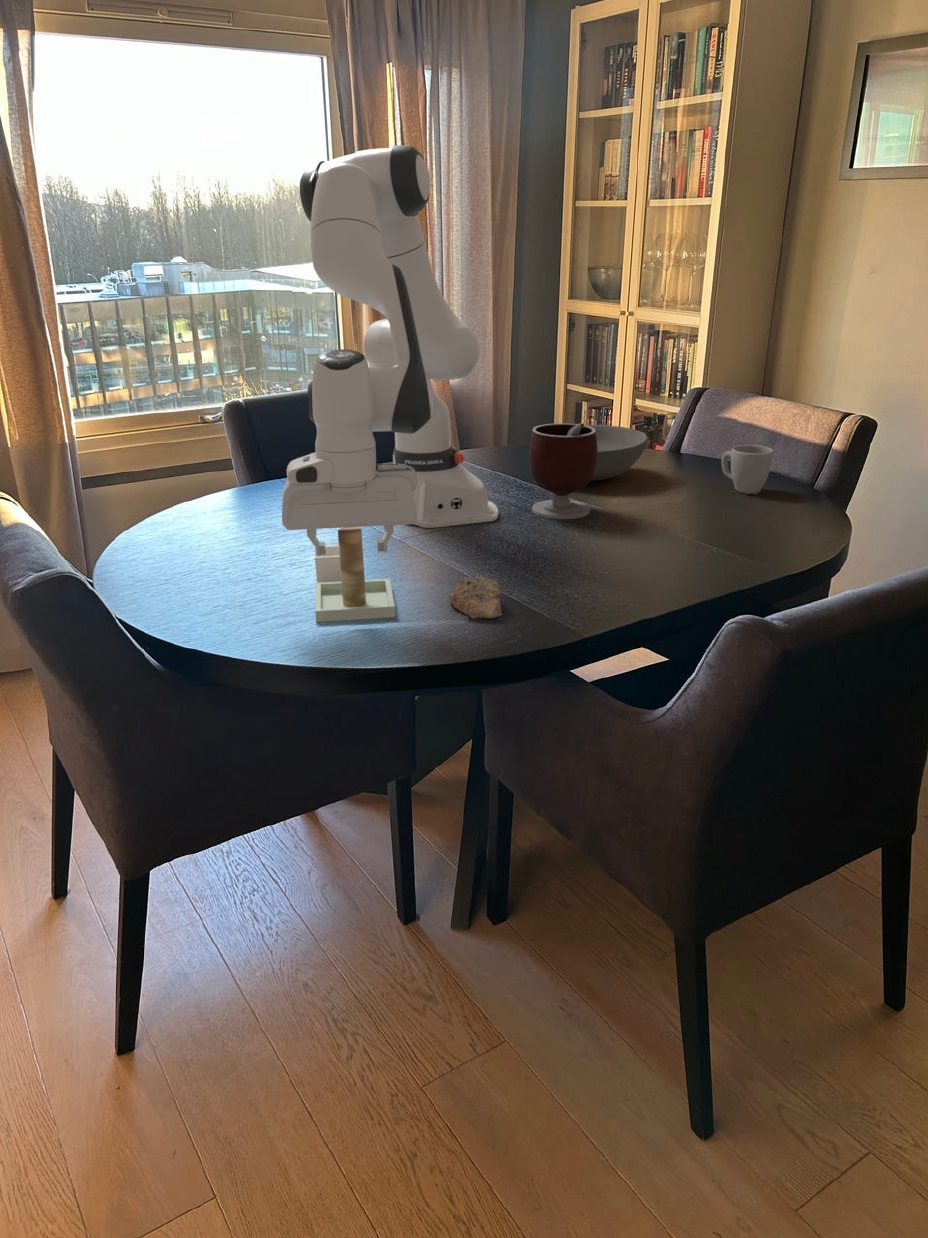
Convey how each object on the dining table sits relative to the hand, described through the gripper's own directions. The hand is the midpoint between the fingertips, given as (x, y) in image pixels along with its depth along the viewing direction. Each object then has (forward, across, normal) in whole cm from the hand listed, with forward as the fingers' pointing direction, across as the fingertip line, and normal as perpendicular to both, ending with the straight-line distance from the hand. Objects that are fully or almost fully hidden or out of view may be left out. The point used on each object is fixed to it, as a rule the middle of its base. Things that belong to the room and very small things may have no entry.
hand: (351, 553), depth 141 cm
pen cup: (+9, +3, -12) cm, 15 cm away
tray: (+9, 0, 0) cm, 9 cm away
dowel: (+8, 0, 0) cm, 8 cm away
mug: (+10, -89, -56) cm, 106 cm away
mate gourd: (+9, -45, -46) cm, 65 cm away
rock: (+10, -19, +3) cm, 22 cm away
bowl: (+10, -58, -73) cm, 94 cm away
